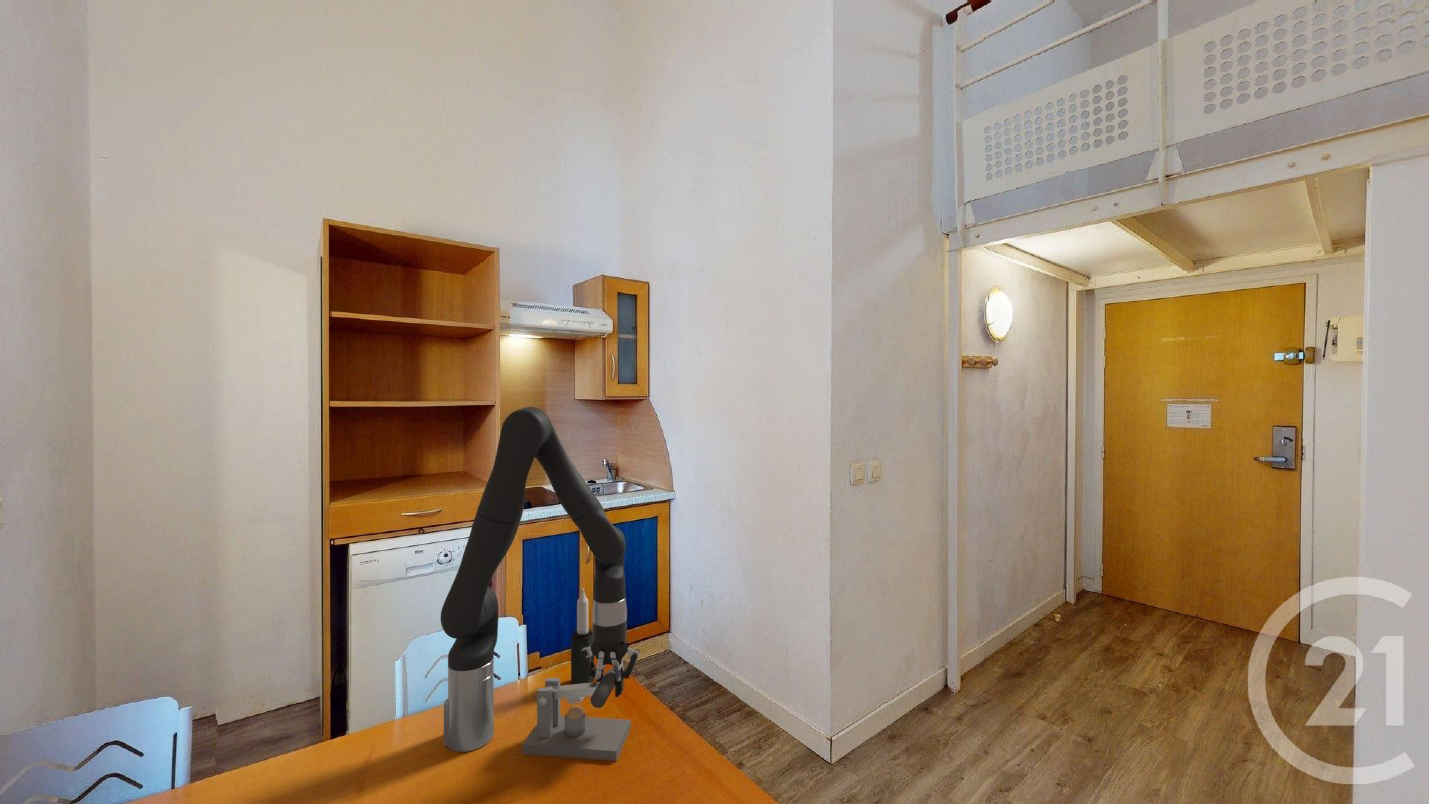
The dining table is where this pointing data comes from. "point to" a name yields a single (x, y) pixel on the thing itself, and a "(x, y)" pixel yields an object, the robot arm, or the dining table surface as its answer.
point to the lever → (587, 690)
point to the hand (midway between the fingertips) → (609, 694)
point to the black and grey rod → (581, 642)
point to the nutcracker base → (584, 745)
